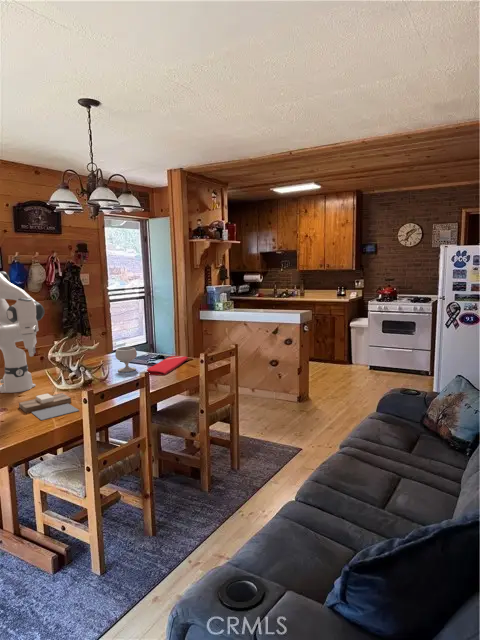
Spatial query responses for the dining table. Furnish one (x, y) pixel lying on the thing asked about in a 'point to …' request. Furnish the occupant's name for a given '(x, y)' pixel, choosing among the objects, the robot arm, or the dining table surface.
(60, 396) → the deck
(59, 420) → the dining table surface
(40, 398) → the tile
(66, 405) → the mat
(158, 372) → the dish drying mat
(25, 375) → the robot arm
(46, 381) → the dining table surface
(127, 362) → the chalice
